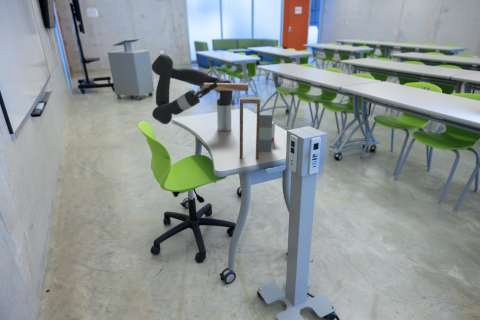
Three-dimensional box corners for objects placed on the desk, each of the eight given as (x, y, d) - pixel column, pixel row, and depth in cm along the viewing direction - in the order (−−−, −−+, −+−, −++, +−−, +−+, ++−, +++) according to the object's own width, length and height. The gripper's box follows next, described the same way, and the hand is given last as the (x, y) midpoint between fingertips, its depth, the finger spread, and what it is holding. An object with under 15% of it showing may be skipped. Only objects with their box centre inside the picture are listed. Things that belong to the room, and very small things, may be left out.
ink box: (272, 138, 193) (273, 120, 188) (274, 141, 189) (275, 123, 184) (258, 139, 192) (259, 121, 187) (260, 142, 187) (261, 123, 182)
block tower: (256, 147, 180) (257, 112, 172) (270, 147, 180) (272, 112, 171) (256, 151, 175) (257, 115, 166) (270, 151, 175) (272, 115, 166)
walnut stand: (240, 154, 171) (240, 96, 158) (258, 154, 170) (260, 96, 157) (239, 158, 165) (239, 99, 152) (258, 159, 165) (260, 99, 152)
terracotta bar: (204, 88, 156) (204, 82, 154) (248, 89, 154) (248, 83, 153) (203, 90, 153) (203, 83, 152) (248, 90, 152) (248, 84, 151)
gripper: (181, 97, 149) (211, 79, 145) (187, 91, 162) (215, 74, 158) (189, 110, 152) (219, 93, 148) (194, 103, 165) (222, 87, 160)
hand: (217, 83), depth 153 cm, fingers closed on terracotta bar, 3 cm apart
